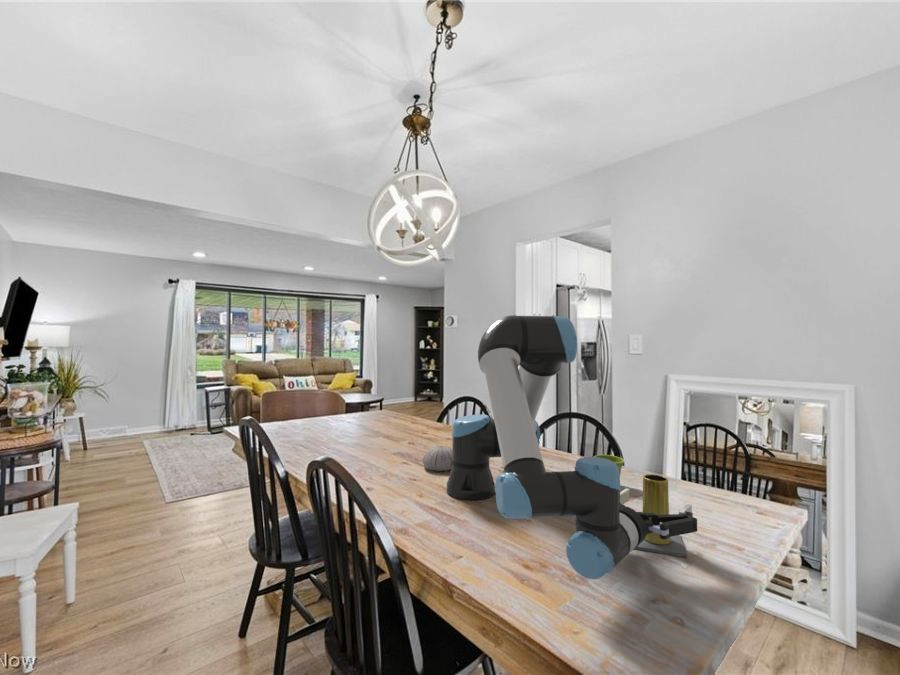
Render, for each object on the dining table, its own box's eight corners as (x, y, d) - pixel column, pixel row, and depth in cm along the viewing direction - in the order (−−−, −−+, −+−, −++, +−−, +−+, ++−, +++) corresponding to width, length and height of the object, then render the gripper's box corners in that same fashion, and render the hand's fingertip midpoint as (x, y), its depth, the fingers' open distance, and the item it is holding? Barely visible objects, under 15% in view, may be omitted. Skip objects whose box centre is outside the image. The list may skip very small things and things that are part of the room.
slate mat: (632, 548, 92) (632, 545, 92) (628, 528, 102) (628, 525, 102) (687, 557, 88) (687, 554, 88) (678, 535, 99) (678, 532, 99)
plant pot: (619, 480, 138) (618, 455, 139) (628, 490, 129) (628, 463, 129) (590, 479, 139) (590, 454, 140) (597, 489, 130) (597, 462, 130)
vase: (668, 535, 97) (667, 475, 98) (673, 547, 91) (672, 483, 92) (640, 531, 99) (639, 472, 100) (643, 543, 93) (642, 480, 94)
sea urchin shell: (417, 466, 156) (417, 444, 156) (448, 461, 162) (448, 440, 162) (432, 475, 144) (432, 452, 144) (465, 470, 150) (465, 448, 150)
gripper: (563, 529, 89) (605, 503, 104) (691, 574, 72) (720, 535, 87) (562, 495, 90) (605, 473, 105) (690, 531, 72) (719, 499, 87)
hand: (657, 501), depth 96 cm, fingers open, 13 cm apart
